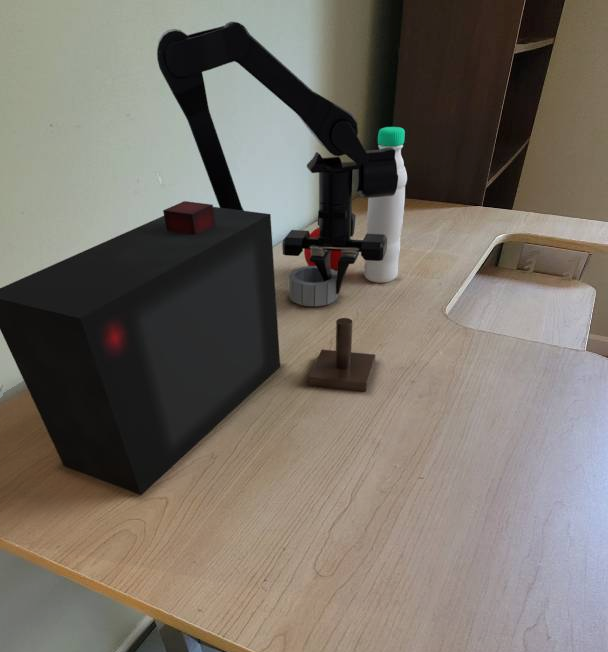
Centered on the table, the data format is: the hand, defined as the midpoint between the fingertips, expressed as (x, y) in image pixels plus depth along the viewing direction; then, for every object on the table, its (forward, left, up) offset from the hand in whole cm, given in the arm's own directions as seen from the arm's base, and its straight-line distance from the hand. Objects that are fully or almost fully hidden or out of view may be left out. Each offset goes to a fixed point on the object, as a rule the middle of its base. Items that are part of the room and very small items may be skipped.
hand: (333, 293), depth 101 cm
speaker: (-15, -43, -1) cm, 45 cm away
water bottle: (+7, +13, -2) cm, 15 cm away
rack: (+7, -28, -1) cm, 29 cm away
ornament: (-5, +13, -2) cm, 14 cm away
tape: (-4, 0, -1) cm, 4 cm away
